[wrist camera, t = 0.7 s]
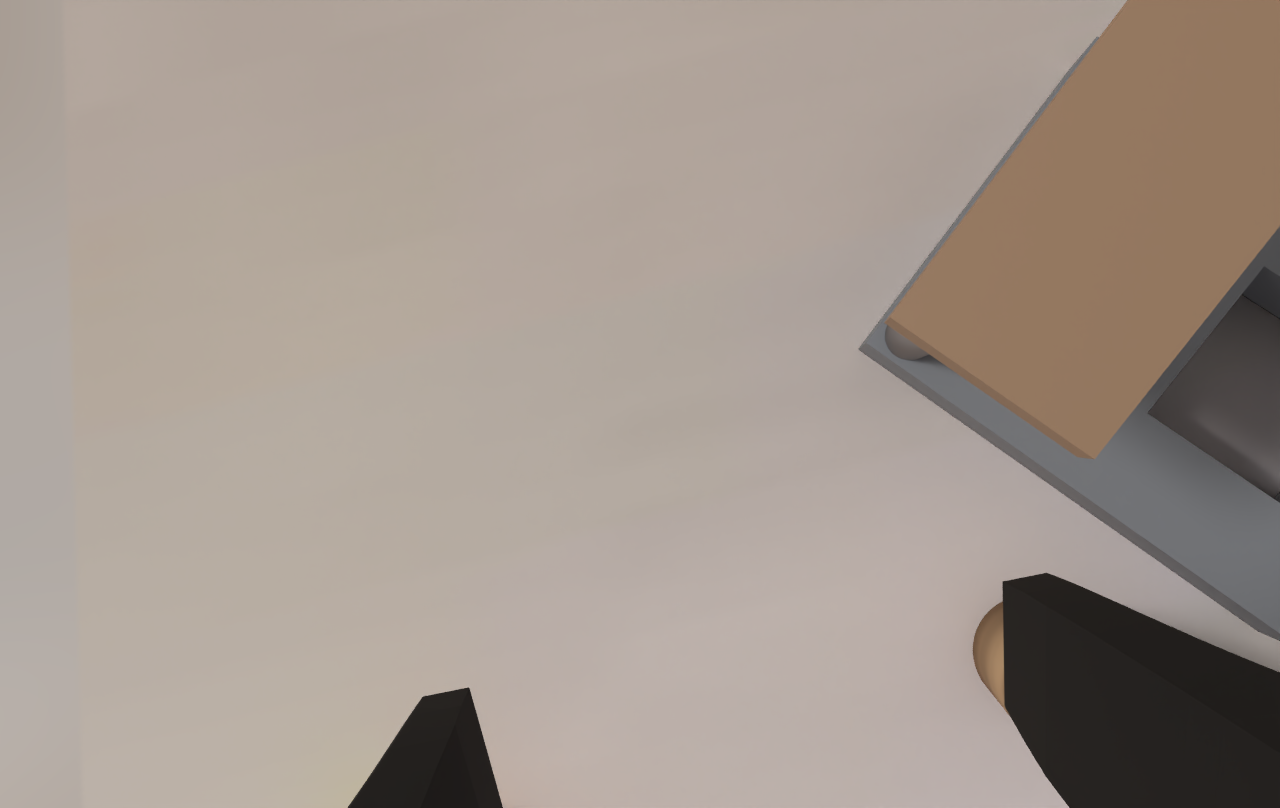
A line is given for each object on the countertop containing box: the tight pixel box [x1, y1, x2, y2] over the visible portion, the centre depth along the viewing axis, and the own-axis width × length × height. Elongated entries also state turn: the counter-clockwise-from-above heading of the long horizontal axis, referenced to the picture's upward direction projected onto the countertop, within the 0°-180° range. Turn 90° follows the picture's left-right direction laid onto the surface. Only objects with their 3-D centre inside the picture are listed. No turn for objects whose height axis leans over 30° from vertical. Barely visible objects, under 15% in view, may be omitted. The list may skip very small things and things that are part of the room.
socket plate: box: [859, 0, 1280, 641], centre depth 22 cm, size 16×13×12 cm
